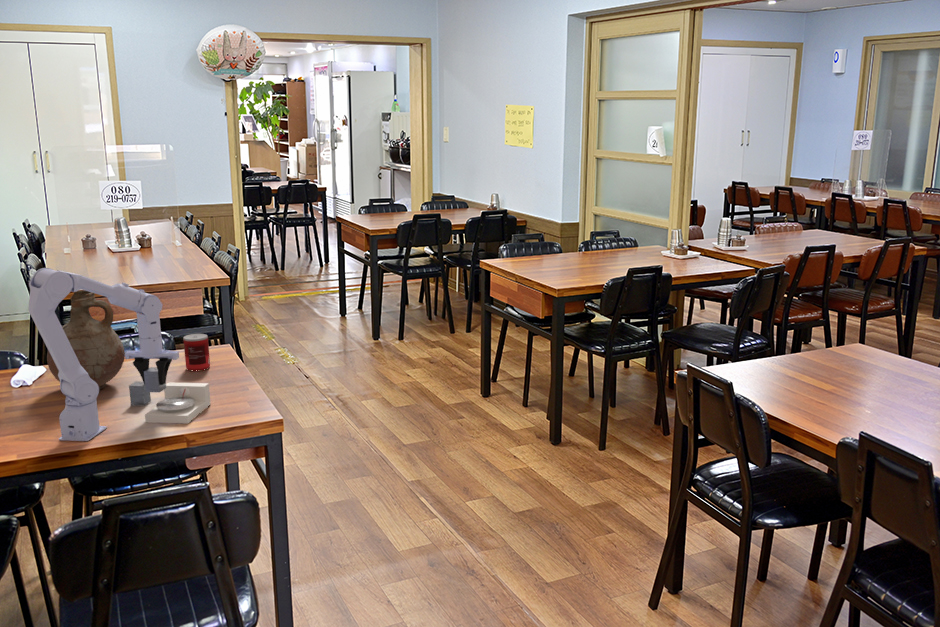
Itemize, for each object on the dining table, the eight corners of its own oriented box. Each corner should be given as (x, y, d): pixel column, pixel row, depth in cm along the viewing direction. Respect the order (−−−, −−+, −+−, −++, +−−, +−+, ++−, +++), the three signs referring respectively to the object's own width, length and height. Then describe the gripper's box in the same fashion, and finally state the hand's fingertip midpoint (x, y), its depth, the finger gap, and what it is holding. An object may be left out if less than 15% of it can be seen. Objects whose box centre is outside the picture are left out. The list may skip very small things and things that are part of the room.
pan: (185, 411, 215) (185, 409, 215) (149, 410, 216) (149, 408, 216) (200, 399, 224) (200, 397, 224) (166, 398, 225) (166, 396, 225)
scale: (188, 423, 214) (186, 400, 213) (145, 422, 215) (143, 399, 214) (210, 404, 229) (208, 383, 228) (170, 403, 230) (168, 382, 229)
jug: (58, 380, 252) (45, 288, 246) (130, 374, 259) (121, 283, 252) (45, 402, 232) (31, 302, 225) (124, 394, 239) (113, 297, 232)
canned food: (200, 363, 270) (197, 332, 267) (215, 367, 265) (212, 335, 263) (181, 369, 264) (178, 337, 261) (195, 373, 259) (192, 340, 257)
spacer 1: (144, 405, 229) (142, 386, 227) (130, 405, 229) (128, 385, 228) (150, 401, 233) (148, 381, 231) (137, 400, 233) (135, 381, 232)
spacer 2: (159, 392, 219) (157, 371, 218) (145, 392, 219) (143, 371, 218) (166, 387, 223) (164, 367, 222) (152, 387, 223) (150, 367, 222)
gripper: (182, 333, 221) (186, 379, 224) (131, 332, 222) (136, 378, 225) (170, 339, 214) (175, 387, 217) (119, 339, 215) (124, 386, 218)
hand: (155, 383), depth 220 cm, fingers closed on spacer 2, 4 cm apart
